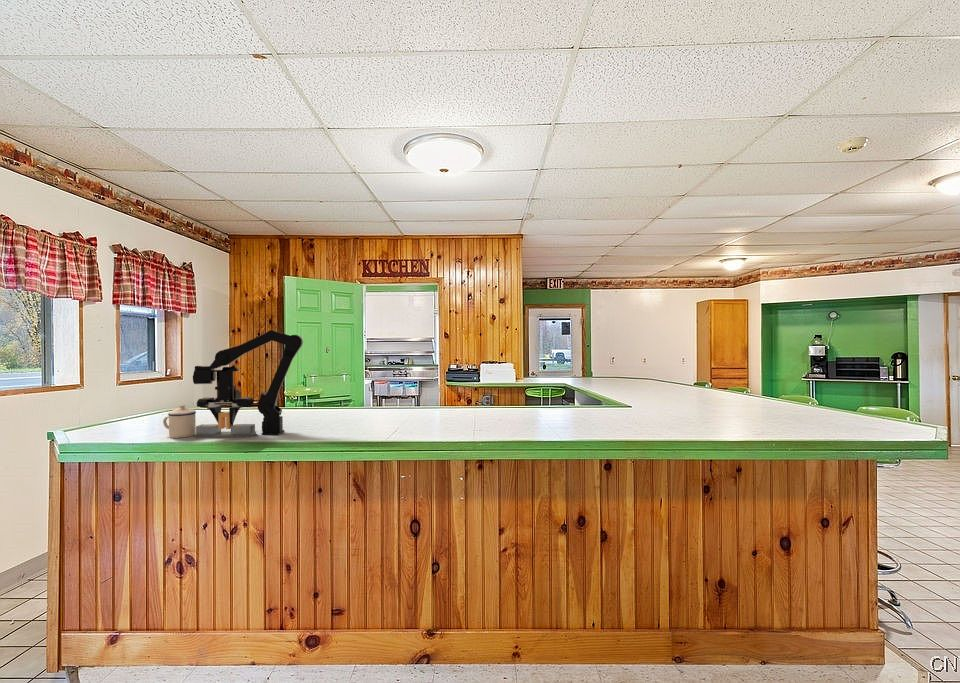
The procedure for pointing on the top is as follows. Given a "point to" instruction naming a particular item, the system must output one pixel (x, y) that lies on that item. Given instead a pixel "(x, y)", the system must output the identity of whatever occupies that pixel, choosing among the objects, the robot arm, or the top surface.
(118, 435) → the top surface
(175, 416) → the teacup with lid
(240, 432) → the rail
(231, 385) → the robot arm
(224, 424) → the clip
